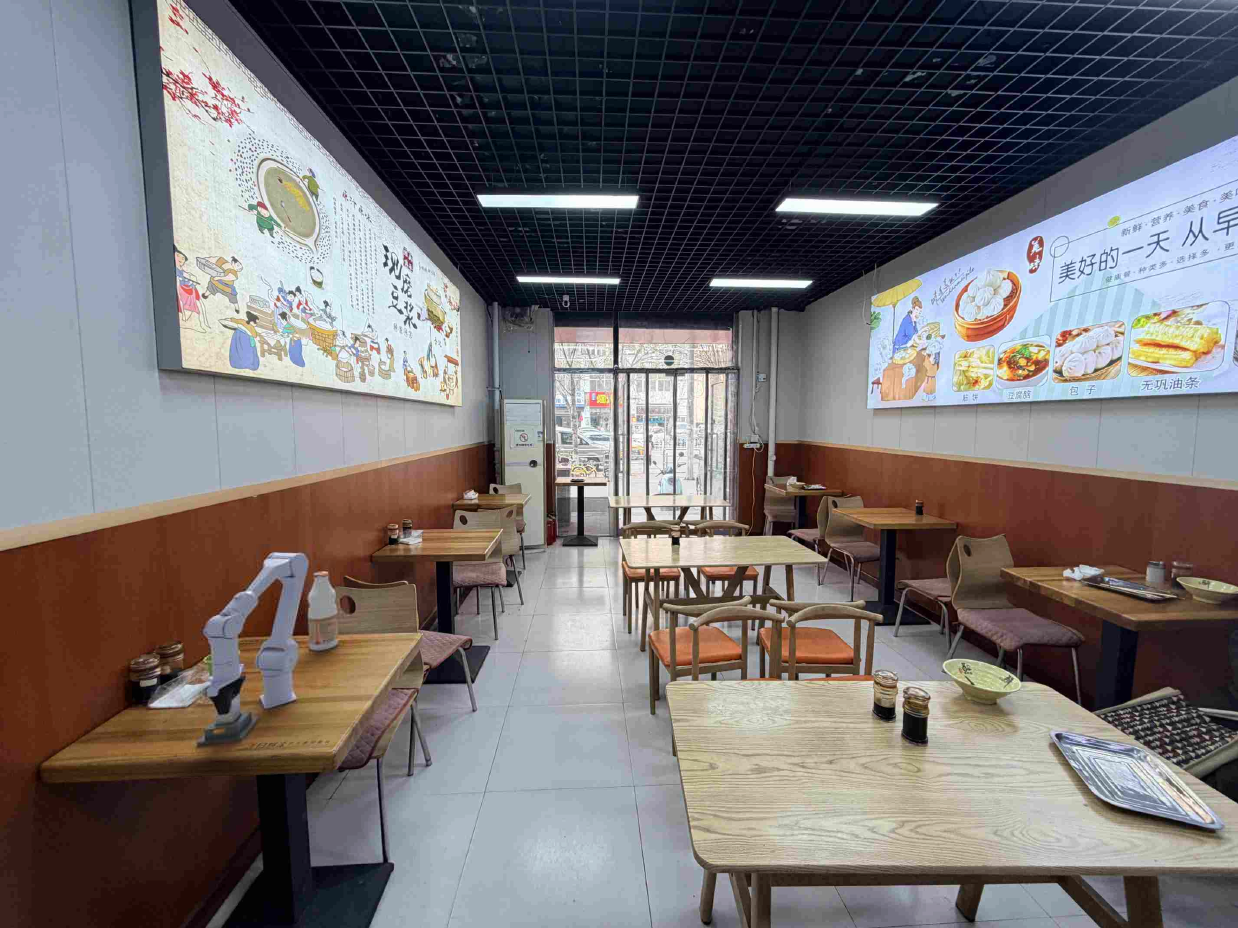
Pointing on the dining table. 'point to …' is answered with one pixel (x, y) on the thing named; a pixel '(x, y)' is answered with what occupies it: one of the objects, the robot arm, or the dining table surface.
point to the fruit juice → (322, 614)
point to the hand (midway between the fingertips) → (228, 709)
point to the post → (230, 712)
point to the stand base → (228, 730)
